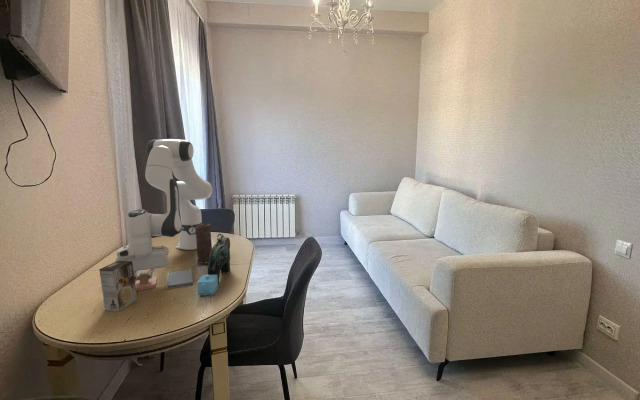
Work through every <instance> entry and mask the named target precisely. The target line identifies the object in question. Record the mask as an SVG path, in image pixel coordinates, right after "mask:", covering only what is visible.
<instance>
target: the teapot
mask: <svg viewBox="0 0 640 400" xmlns="http://www.w3.org/2000/svg"><path fill="white" fill-rule="evenodd" d="M218 288H219V284H218V275H208V274H202V275H201V277H199V279H198V280H197V295H198V296H201V297H204V296H210V297H211V296H215V294H216V292H217V290H218Z"/></svg>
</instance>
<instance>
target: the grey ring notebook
mask: <svg viewBox="0 0 640 400" xmlns="http://www.w3.org/2000/svg"><path fill="white" fill-rule="evenodd" d="M193 278H194V276H193V269H192V268H191V269H184V270H177V271H170V272H168V273H166V278H165V279H166V280H165V288H167V289H168V290H169V289H174V288H181V287H187V286H192V285H194V281H193V280H194V279H193Z"/></svg>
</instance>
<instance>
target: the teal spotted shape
mask: <svg viewBox="0 0 640 400" xmlns="http://www.w3.org/2000/svg"><path fill="white" fill-rule="evenodd" d="M216 236H217V238H216V240H217V241H216V243H215V244H214V245H212V250H211V252H210V255H209V259H208V263H207V275H218V285H219V284H220V275H221V274H229V272H230V271H231V263H230V261H231V250H230V248H231V240H230V238H229V237H226V236H224V234H221V233H218V234H217V235H216ZM219 236H220V237H219Z"/></svg>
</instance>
